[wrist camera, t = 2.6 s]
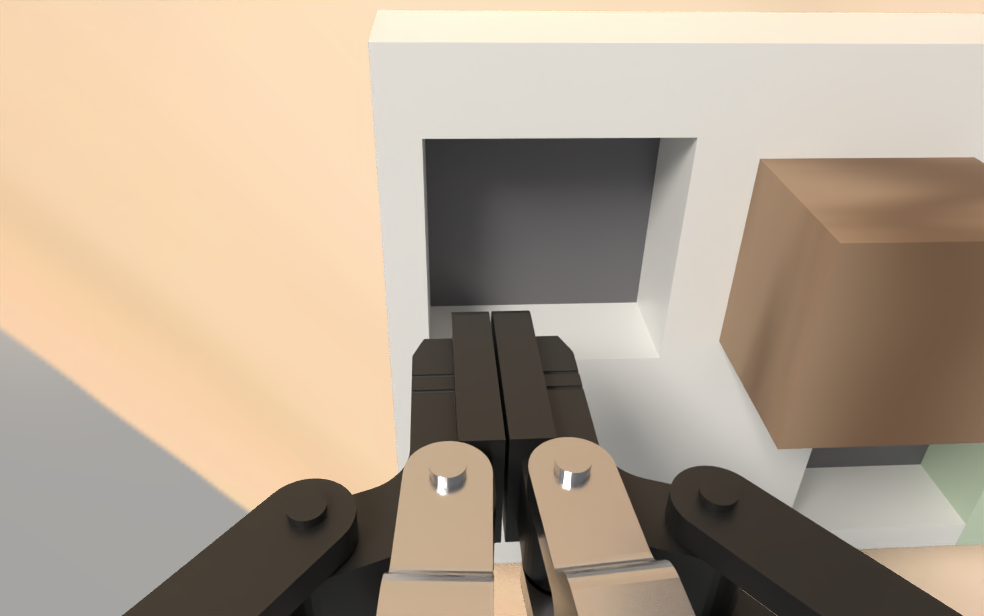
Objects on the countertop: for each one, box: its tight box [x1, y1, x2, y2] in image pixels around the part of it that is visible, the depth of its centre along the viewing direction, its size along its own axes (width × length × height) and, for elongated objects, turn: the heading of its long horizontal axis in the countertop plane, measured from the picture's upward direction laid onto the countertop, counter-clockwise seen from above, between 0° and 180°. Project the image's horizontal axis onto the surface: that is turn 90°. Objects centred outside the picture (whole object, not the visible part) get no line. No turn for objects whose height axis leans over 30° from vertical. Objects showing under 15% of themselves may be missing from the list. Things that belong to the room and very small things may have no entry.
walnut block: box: [719, 157, 984, 449], centre depth 17 cm, size 5×5×4 cm
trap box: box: [368, 10, 984, 564], centre depth 20 cm, size 25×16×5 cm, turn 89°
